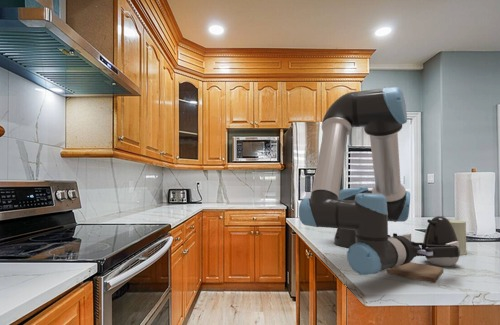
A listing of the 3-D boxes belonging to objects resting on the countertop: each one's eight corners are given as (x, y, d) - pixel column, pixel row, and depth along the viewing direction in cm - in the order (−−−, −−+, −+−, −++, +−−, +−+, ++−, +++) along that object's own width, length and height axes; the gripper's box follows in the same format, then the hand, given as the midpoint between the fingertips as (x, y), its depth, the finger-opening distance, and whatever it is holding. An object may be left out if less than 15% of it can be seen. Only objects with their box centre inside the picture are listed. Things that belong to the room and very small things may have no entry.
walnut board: (386, 272, 86) (386, 268, 87) (399, 263, 95) (399, 260, 96) (434, 282, 79) (434, 278, 79) (443, 272, 87) (443, 267, 88)
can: (457, 249, 115) (456, 217, 116) (472, 255, 106) (471, 221, 107) (432, 248, 116) (431, 217, 117) (445, 254, 107) (444, 221, 108)
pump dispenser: (415, 261, 98) (414, 215, 99) (437, 258, 102) (436, 213, 103) (445, 270, 89) (443, 219, 90) (468, 266, 93) (467, 217, 93)
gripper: (354, 255, 90) (393, 246, 102) (445, 278, 70) (481, 264, 81) (354, 230, 91) (393, 223, 102) (444, 246, 70) (480, 236, 82)
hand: (432, 241), depth 92 cm, fingers open, 13 cm apart
